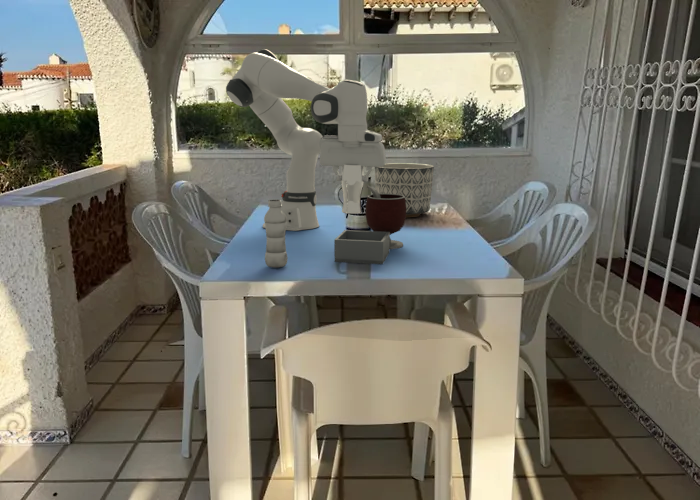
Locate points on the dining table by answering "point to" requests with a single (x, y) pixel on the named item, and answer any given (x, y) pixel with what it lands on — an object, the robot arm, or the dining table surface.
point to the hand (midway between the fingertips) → (352, 181)
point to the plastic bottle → (275, 235)
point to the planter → (407, 184)
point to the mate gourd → (386, 214)
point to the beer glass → (352, 188)
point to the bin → (362, 247)
